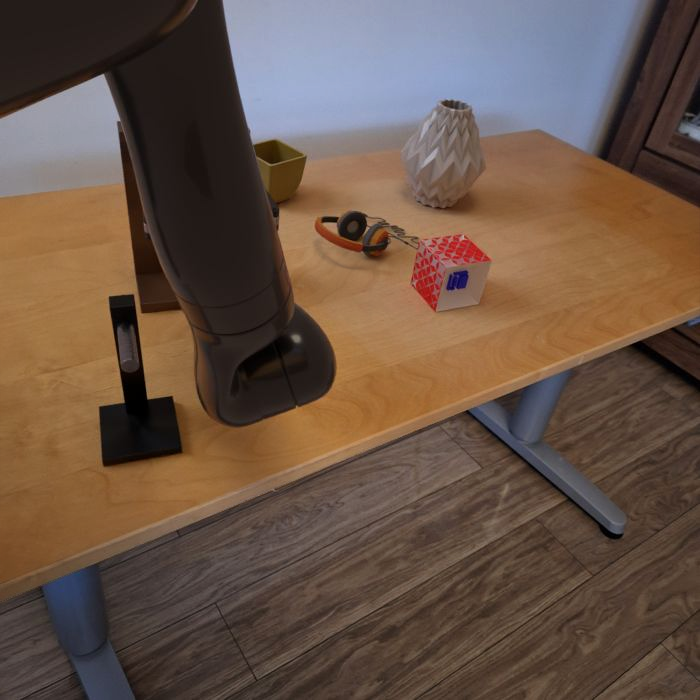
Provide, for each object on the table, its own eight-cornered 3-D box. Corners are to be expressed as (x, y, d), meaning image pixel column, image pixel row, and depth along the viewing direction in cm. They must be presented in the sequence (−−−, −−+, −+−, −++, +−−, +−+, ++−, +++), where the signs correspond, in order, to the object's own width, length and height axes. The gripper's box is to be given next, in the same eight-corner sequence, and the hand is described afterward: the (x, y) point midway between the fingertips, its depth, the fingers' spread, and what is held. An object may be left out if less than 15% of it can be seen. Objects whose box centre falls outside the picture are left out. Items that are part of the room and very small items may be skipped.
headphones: (446, 237, 105) (366, 243, 92) (435, 265, 108) (356, 274, 94) (378, 198, 114) (297, 198, 101) (370, 224, 117) (289, 228, 103)
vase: (420, 174, 132) (438, 84, 120) (488, 202, 125) (514, 109, 113) (377, 196, 121) (392, 99, 109) (449, 227, 114) (473, 128, 102)
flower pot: (305, 201, 116) (308, 154, 110) (269, 213, 110) (271, 165, 105) (274, 183, 120) (276, 137, 114) (238, 194, 115) (238, 147, 109)
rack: (141, 313, 84) (121, 152, 70) (135, 273, 91) (116, 119, 77) (257, 301, 89) (261, 149, 75) (242, 264, 96) (243, 118, 82)
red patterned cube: (452, 276, 101) (463, 234, 96) (478, 304, 96) (492, 260, 91) (409, 283, 98) (419, 239, 93) (434, 312, 93) (445, 267, 88)
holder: (103, 466, 64) (79, 352, 54) (99, 411, 70) (77, 298, 60) (182, 452, 67) (173, 340, 57) (172, 400, 72) (162, 290, 63)
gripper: (301, 216, 58) (262, 147, 70) (142, 226, 54) (128, 150, 66) (297, 283, 63) (260, 207, 75) (150, 297, 58) (136, 214, 70)
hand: (199, 181), depth 70 cm, fingers closed on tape, 6 cm apart
